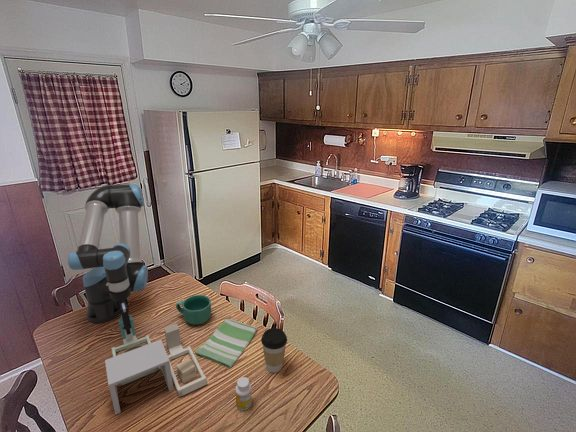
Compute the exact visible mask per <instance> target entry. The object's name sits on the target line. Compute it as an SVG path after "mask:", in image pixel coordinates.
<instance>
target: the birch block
mask: <svg viewBox="0 0 576 432" xmlns="http://www.w3.org/2000/svg"><path fill="white" fill-rule="evenodd" d="M175 367H176V374H177V377H178V378H179V380H180V381H181V382H182V383H183V384H185V383H186V384H187V382H189V381H191V380H192V379H194V378H195V377H197V373H196V372H197V369H196V367H195V365H194V363H193V361H192V360H191V359H190V358H186V359H184V360H183V361H181V362H180V363H178V364H176V365H175Z"/></svg>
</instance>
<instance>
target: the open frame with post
mask: <svg viewBox="0 0 576 432" xmlns="http://www.w3.org/2000/svg"><path fill="white" fill-rule="evenodd" d="M164 336H165V343H166V344H165V345H166V347H167V349H168V352H169V355H168V354H167V356H168V358H169V362H170V369H171V376H172V383H174V384H173V386H175V390H176V393H177V395H178V398H181V397H184V396H185V395H188V394H189V393H192V392H193V391H195V390H199V388H203V387H204V386H206V385H208V381H207V379H208V378H207V375H205V374H204V372H203V370H202V367H201V365H200V364H199V361H198V359H197V358H196V356H195V354H194V352H193V349H192V348H191V346H190V345H189V346H186V348H183V345H182V342H181V341H182V339H181V332H180V327H179V326H178V323H173V324H170V325H168V326H165V327H164ZM186 354H189V356H190V358H191V359H190V360H191V362H192V363H193V364H194V365H195V370H196V372H197V373H198V375H199V378H196V379H195V380H193V381H191V382H189V383H186V384H183V385H182V386H180V384H179V381H178V378H177V377H176V373H175V371H174V368H173V366H172V364H171V360H174V359H176V358H179V357H181V356H183V355H186Z"/></svg>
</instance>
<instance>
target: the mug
mask: <svg viewBox="0 0 576 432" xmlns="http://www.w3.org/2000/svg"><path fill="white" fill-rule="evenodd" d="M181 306H182V307H181ZM175 308H176V310H177V311H178V313H180V314H181V315H183V318H184V320H185V322H187V323H188V324H191V325H201V324H204V323H206V321H208V320H209V319H210V317H211V314H212V303H211V299H210V297H208V296H207V295H204V294H195V295H192V296H191V295H190V296H188V297H187V298H186V299H185V300H179V301H177V303H176V304H175Z"/></svg>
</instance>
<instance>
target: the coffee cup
mask: <svg viewBox="0 0 576 432" xmlns="http://www.w3.org/2000/svg"><path fill="white" fill-rule="evenodd" d="M260 341H261V344H262V351H263V357H264V363H265V366H266V367H265V368H266V370H267V372H269V373H272V374H277V373H278V372H281V370H282V368H283V362H284V358H285V353H286V345H287V343H288V337H287V335H286V332H285V331H284V330H283V329H281V328H278V327H271V328H268V329H266V330H265V331H264V332H263V334H262V336H261V340H260Z"/></svg>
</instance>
